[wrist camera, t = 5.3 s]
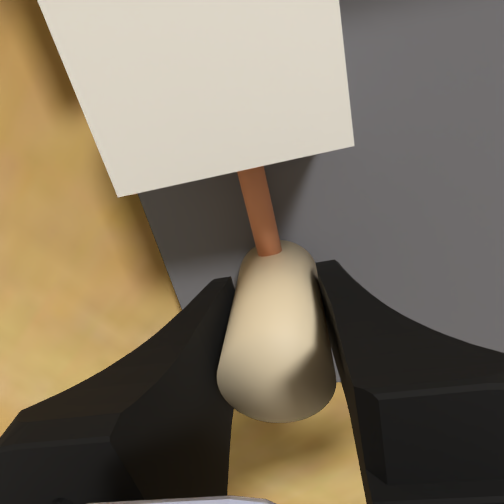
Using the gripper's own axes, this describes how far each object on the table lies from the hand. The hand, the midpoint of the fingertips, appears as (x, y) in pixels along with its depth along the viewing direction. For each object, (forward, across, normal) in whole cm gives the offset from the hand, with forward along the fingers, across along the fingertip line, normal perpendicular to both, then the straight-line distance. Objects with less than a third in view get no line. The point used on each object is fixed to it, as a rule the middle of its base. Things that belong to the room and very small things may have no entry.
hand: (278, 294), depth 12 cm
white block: (+1, 0, -4) cm, 4 cm away
